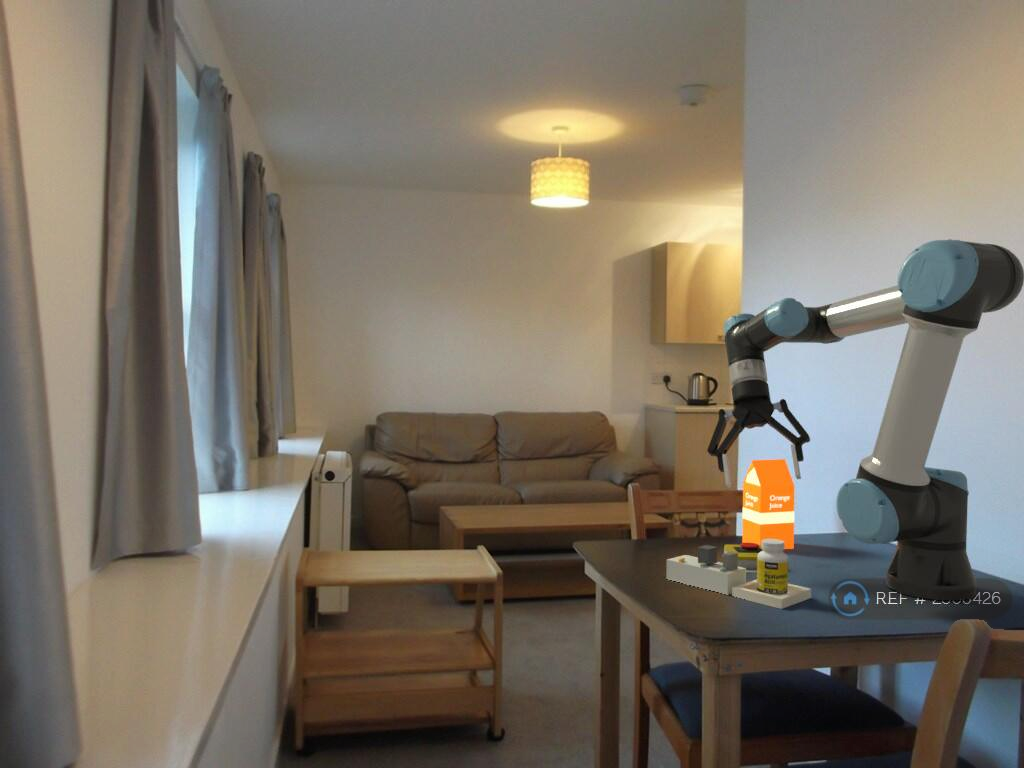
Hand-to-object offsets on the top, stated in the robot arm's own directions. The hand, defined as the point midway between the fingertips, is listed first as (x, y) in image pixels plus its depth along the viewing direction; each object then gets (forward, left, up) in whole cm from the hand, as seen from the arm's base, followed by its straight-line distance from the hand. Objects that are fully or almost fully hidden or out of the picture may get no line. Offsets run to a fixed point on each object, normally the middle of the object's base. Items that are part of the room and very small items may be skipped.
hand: (763, 482), depth 169 cm
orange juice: (+13, -23, -19) cm, 32 cm away
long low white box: (+3, +15, -19) cm, 24 cm away
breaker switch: (+2, +15, -15) cm, 21 cm away
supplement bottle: (-10, +13, -18) cm, 25 cm away
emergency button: (+6, -5, -19) cm, 21 cm away
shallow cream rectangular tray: (-10, +13, -19) cm, 25 cm away
